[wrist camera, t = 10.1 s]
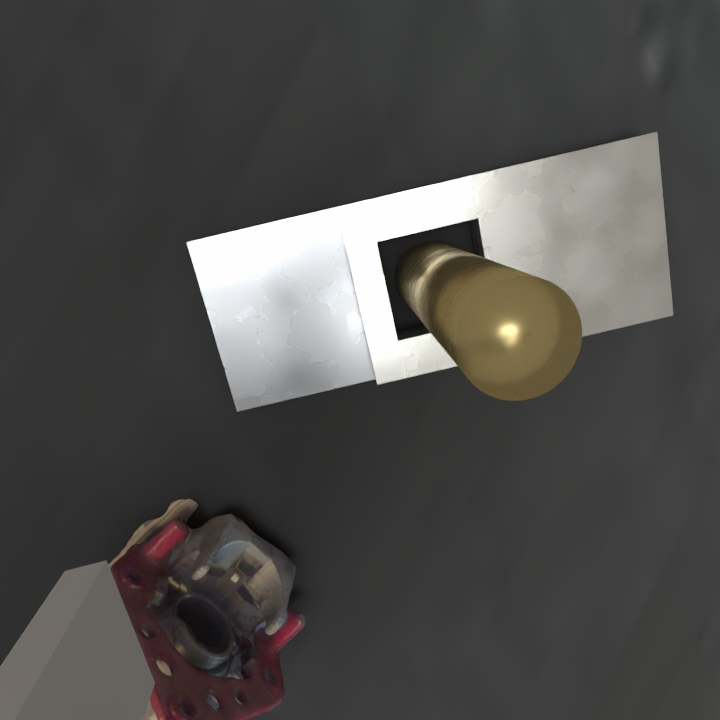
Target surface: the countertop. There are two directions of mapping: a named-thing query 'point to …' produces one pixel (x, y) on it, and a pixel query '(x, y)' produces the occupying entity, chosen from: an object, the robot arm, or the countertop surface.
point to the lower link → (285, 308)
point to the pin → (492, 319)
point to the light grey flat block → (528, 241)
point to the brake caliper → (208, 614)
